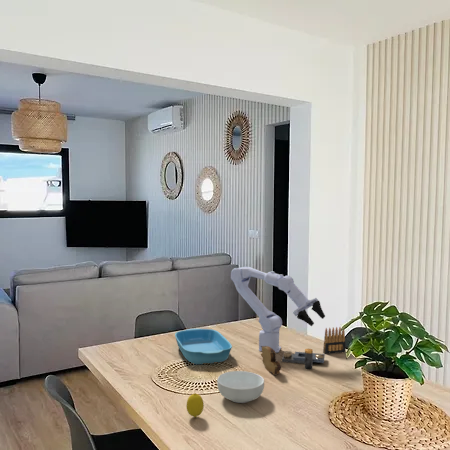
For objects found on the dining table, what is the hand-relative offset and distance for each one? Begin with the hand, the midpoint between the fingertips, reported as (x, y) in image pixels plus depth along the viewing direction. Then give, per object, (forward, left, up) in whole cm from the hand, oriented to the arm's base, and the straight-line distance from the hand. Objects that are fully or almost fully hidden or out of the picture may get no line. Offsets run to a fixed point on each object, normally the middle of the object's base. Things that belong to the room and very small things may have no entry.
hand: (318, 321), depth 198 cm
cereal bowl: (-24, -47, -18) cm, 56 cm away
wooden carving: (-18, -18, -18) cm, 31 cm away
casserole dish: (-52, -5, -18) cm, 55 cm away
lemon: (-35, -65, -18) cm, 76 cm away
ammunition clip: (+7, +13, -18) cm, 23 cm away
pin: (-3, -11, -18) cm, 21 cm away
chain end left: (-9, -2, -18) cm, 20 cm away
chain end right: (-4, -2, -18) cm, 18 cm away
